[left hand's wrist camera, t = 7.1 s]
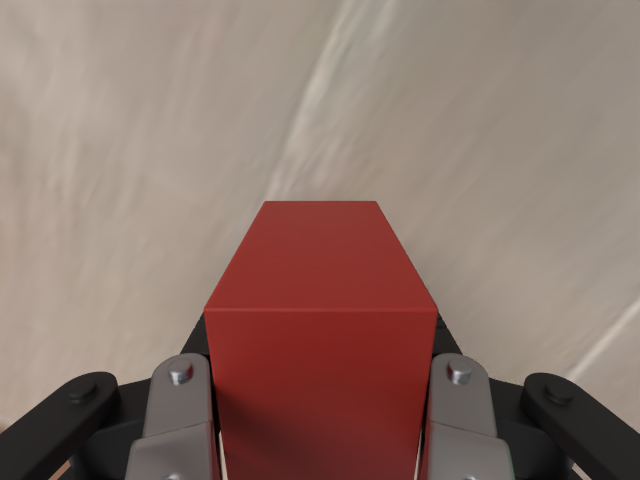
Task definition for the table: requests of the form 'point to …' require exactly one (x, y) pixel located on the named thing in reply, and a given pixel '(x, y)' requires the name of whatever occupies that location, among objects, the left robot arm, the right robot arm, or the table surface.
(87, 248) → the table surface
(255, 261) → the brick
